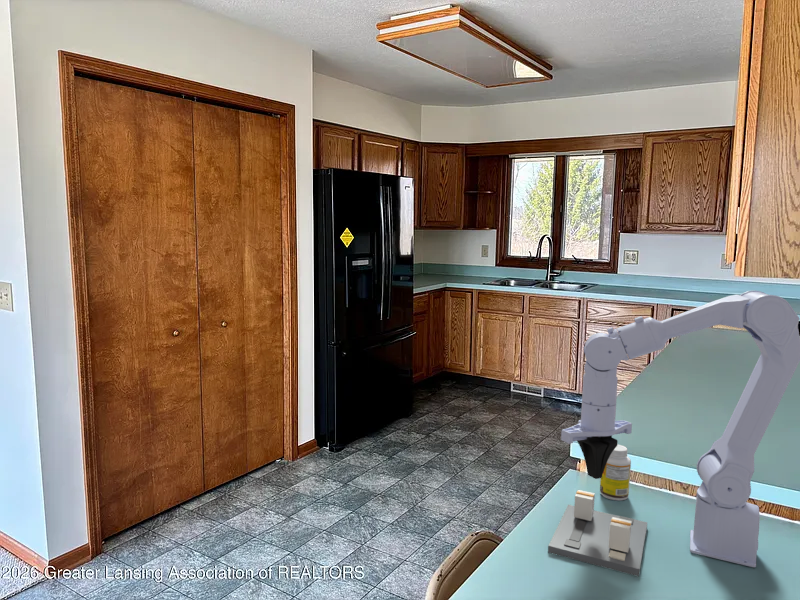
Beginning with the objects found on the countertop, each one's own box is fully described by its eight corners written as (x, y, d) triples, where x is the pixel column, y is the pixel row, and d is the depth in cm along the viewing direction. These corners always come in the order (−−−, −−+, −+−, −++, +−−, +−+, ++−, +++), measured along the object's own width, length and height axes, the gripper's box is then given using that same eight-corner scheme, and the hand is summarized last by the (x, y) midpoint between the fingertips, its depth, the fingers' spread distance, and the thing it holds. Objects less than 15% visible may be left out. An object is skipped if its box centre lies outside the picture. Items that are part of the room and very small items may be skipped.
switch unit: (646, 528, 105) (647, 521, 104) (638, 576, 90) (639, 568, 89) (567, 510, 111) (568, 503, 111) (547, 552, 96) (548, 544, 96)
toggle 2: (629, 544, 96) (631, 520, 96) (628, 552, 93) (629, 527, 93) (610, 539, 97) (612, 515, 97) (608, 547, 95) (610, 523, 94)
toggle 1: (593, 514, 106) (594, 492, 106) (590, 521, 104) (592, 498, 103) (576, 510, 108) (578, 488, 107) (573, 517, 105) (575, 494, 104)
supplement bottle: (604, 487, 122) (608, 440, 121) (632, 495, 118) (635, 446, 117) (595, 496, 118) (598, 447, 116) (623, 504, 114) (626, 454, 113)
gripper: (612, 392, 108) (608, 462, 110) (551, 400, 102) (547, 474, 104) (642, 402, 102) (638, 476, 103) (579, 411, 96) (574, 489, 97)
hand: (594, 476), depth 103 cm, fingers closed
